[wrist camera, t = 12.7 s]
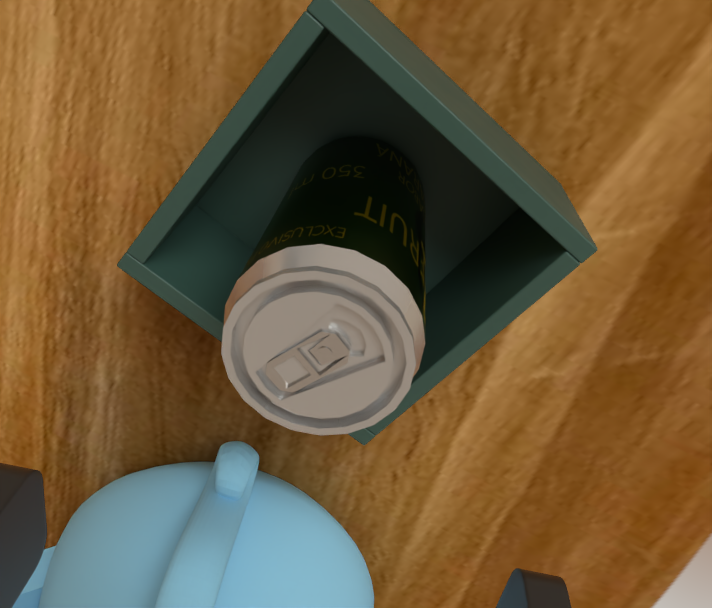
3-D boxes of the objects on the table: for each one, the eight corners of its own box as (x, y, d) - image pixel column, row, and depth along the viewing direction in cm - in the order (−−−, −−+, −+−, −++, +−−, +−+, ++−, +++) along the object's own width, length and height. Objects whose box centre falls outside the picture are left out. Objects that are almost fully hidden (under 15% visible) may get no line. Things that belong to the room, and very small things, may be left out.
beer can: (345, 277, 29) (299, 470, 18) (269, 179, 27) (168, 330, 16) (450, 214, 27) (466, 387, 16) (376, 103, 25) (340, 219, 14)
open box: (346, -22, 23) (321, -12, 18) (561, 184, 26) (599, 249, 20) (178, 201, 28) (115, 266, 22) (375, 354, 31) (364, 446, 25)
